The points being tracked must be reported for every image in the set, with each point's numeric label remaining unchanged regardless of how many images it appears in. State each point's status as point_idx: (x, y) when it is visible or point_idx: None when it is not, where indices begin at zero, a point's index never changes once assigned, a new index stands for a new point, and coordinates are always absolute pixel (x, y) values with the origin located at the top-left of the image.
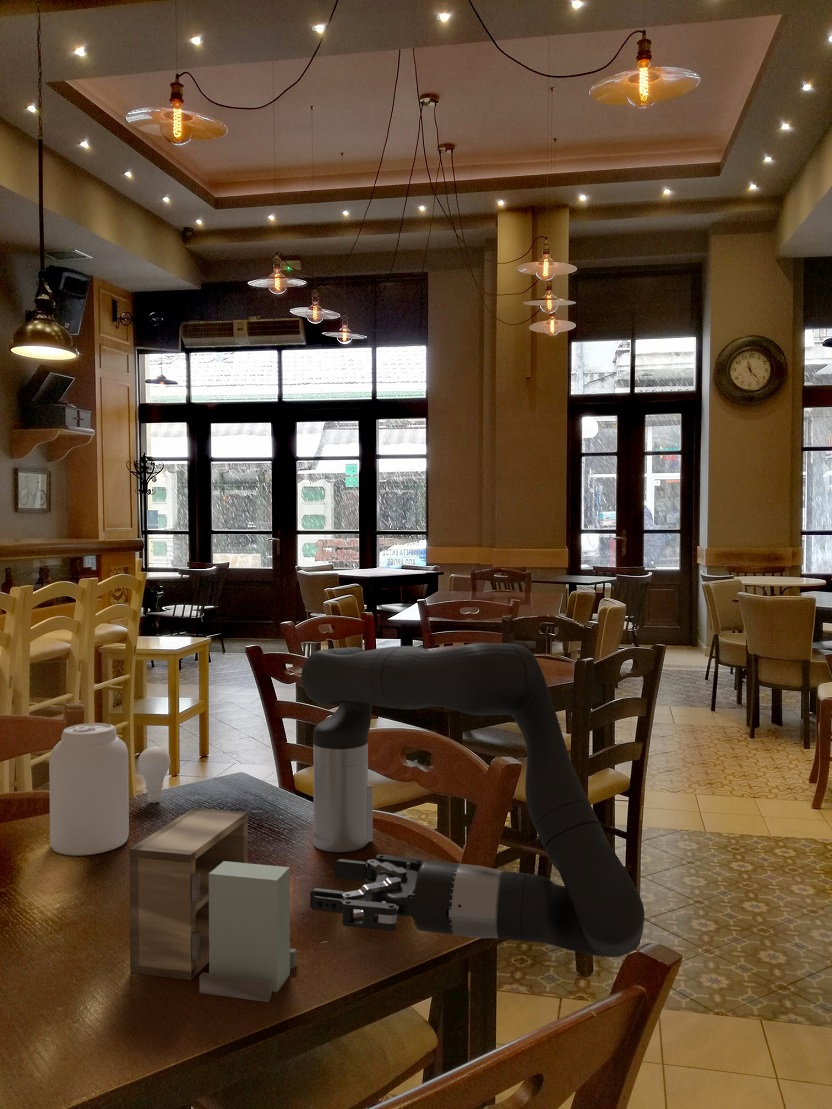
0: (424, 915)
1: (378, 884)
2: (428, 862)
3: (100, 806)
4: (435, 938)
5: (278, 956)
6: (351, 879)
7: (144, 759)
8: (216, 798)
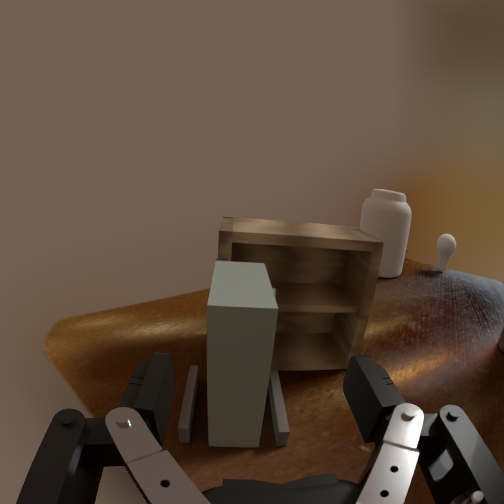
0: None
1: (179, 501)
2: None
3: None
4: None
5: (213, 415)
6: (354, 415)
7: (439, 239)
8: (474, 284)
